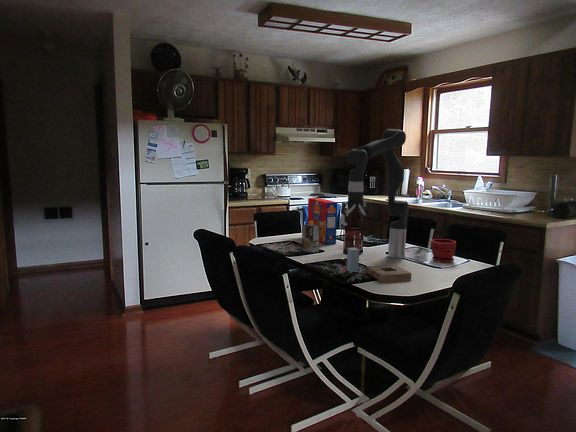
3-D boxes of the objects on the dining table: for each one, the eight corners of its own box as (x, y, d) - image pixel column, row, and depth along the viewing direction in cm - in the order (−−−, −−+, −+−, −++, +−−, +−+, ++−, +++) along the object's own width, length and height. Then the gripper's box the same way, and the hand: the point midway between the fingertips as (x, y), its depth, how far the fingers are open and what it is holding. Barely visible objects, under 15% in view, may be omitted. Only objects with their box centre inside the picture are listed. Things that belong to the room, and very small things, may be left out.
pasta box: (307, 236, 299) (308, 198, 295) (317, 236, 302) (318, 197, 298) (325, 244, 273) (326, 202, 269) (335, 244, 276) (337, 202, 272)
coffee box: (319, 251, 256) (320, 225, 253) (312, 252, 251) (313, 226, 249) (307, 248, 262) (308, 223, 259) (301, 250, 257) (301, 224, 255)
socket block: (365, 272, 211) (366, 266, 211) (394, 270, 215) (394, 264, 215) (380, 282, 196) (381, 275, 195) (411, 280, 200) (411, 273, 200)
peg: (346, 270, 214) (347, 248, 212) (354, 270, 215) (355, 247, 213) (350, 273, 210) (351, 250, 208) (358, 272, 211) (359, 249, 209)
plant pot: (457, 260, 238) (458, 240, 236) (451, 265, 227) (453, 244, 226) (433, 257, 245) (435, 237, 244) (427, 261, 235) (428, 240, 233)
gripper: (365, 189, 212) (364, 221, 214) (339, 190, 208) (338, 222, 210) (372, 191, 205) (370, 223, 207) (345, 191, 201) (344, 224, 203)
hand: (354, 222), depth 209 cm, fingers open, 8 cm apart
